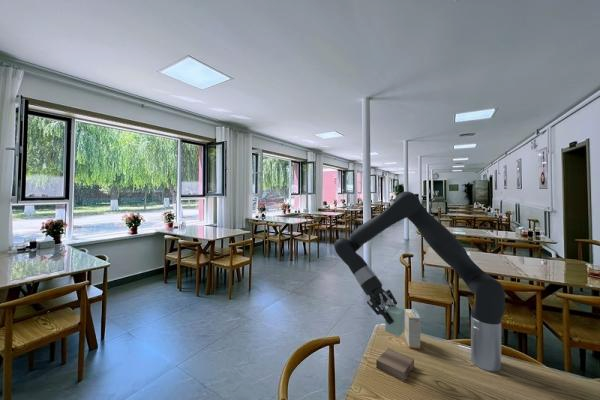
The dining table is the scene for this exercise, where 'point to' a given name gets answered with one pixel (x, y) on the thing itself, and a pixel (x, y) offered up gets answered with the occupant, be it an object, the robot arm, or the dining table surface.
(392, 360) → the walnut plinth
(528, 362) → the dining table surface
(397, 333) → the sage block
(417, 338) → the supplement box
